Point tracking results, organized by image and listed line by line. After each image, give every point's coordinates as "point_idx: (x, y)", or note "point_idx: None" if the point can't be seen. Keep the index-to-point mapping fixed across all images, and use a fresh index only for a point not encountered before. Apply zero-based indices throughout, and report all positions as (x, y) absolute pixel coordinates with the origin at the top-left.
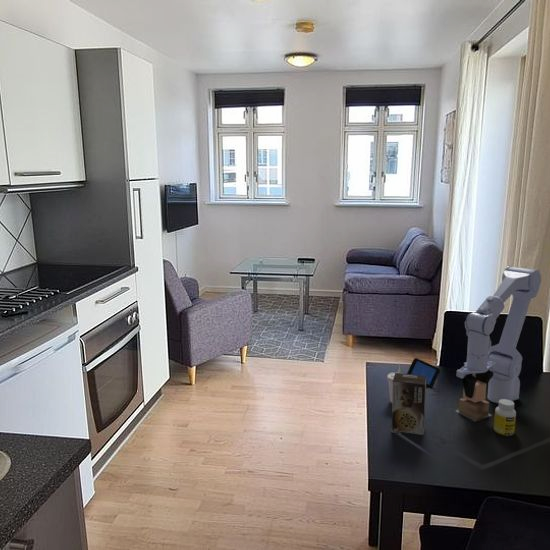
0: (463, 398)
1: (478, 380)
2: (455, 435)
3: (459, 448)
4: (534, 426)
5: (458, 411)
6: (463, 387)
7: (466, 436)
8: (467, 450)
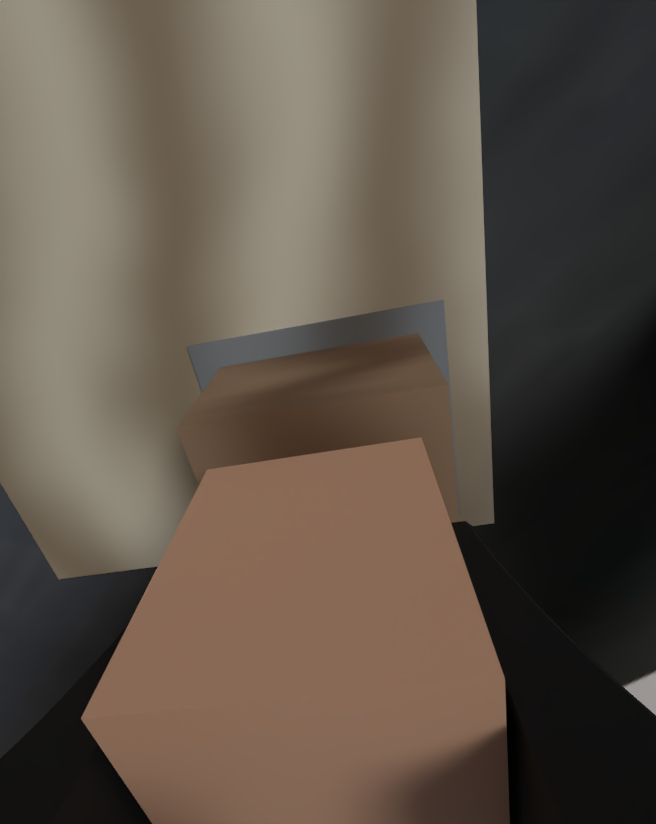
0: (245, 427)
1: (501, 774)
2: (46, 585)
3: (14, 673)
4: (609, 649)
5: (216, 370)
6: (150, 583)
7: (112, 610)
8: (50, 694)
